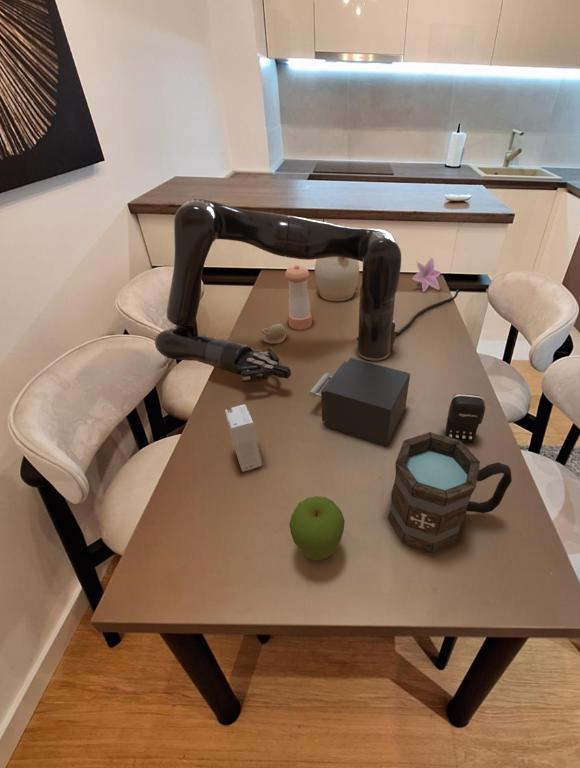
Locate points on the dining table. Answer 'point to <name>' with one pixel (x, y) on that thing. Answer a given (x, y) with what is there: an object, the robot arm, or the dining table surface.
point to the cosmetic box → (243, 437)
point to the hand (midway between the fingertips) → (289, 373)
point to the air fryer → (366, 401)
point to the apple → (317, 527)
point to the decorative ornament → (274, 334)
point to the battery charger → (464, 417)
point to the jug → (336, 276)
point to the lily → (427, 275)
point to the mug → (438, 490)
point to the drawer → (320, 384)
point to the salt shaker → (298, 298)
